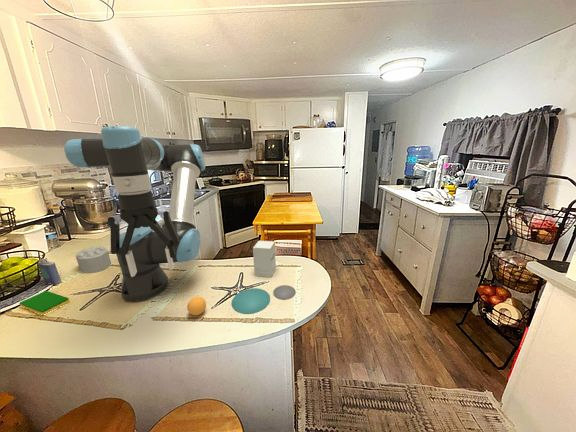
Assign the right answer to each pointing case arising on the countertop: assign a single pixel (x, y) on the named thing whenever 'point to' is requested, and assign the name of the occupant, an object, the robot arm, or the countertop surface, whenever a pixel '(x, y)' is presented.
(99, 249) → the lumpy-topped squat cylinder
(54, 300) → the dish sponge
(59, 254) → the countertop surface
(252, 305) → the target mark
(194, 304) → the ball
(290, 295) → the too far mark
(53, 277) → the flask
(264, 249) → the supplement box
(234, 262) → the countertop surface
